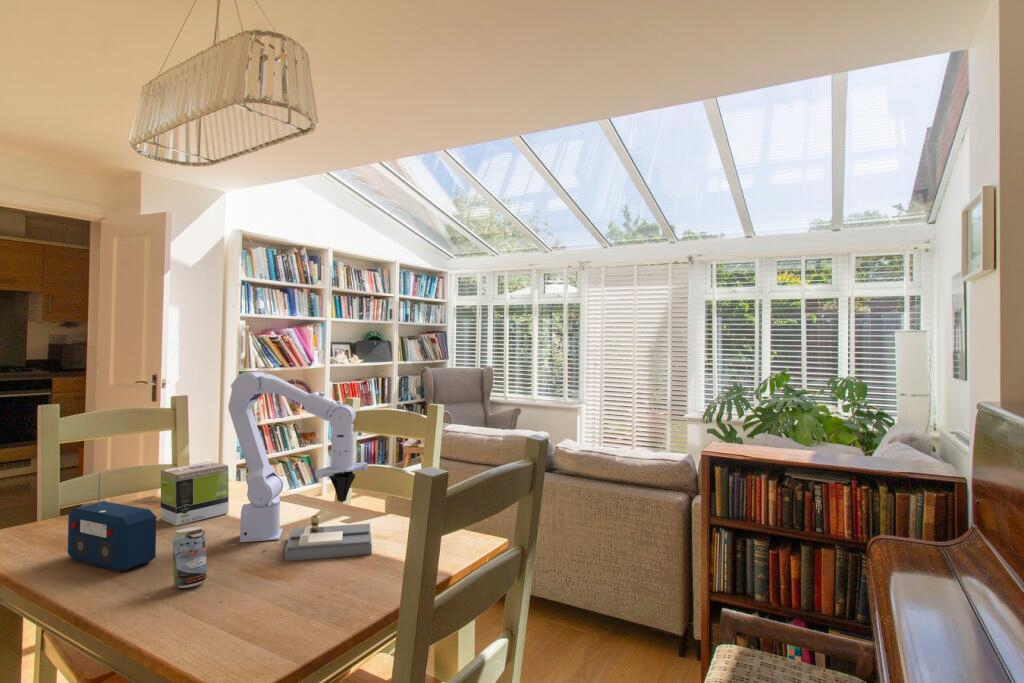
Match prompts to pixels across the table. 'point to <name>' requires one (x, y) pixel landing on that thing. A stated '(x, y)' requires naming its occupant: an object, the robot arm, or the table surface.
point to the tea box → (194, 492)
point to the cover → (320, 538)
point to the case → (352, 544)
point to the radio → (111, 535)
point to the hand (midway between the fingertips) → (341, 500)
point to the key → (318, 519)
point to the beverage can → (189, 557)
